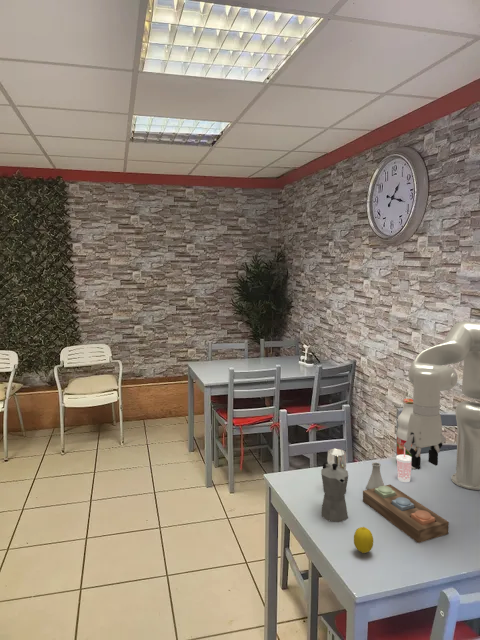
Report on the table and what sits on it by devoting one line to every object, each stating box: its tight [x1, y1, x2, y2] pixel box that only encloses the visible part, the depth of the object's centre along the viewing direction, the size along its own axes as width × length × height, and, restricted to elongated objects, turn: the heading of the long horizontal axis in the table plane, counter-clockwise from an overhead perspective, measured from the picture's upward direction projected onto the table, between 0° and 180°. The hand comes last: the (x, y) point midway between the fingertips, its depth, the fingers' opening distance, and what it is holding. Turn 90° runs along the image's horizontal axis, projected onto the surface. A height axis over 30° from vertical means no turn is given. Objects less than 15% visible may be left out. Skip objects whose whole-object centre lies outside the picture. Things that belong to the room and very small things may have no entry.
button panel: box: [362, 484, 450, 544], centre depth 152 cm, size 12×27×4 cm, turn 22°
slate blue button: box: [392, 497, 414, 511], centre depth 152 cm, size 5×5×3 cm
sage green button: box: [375, 486, 396, 498], centre depth 160 cm, size 5×5×3 cm
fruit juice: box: [396, 397, 422, 470], centre depth 190 cm, size 9×9×28 cm
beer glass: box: [326, 448, 347, 470], centre depth 170 cm, size 7×7×15 cm
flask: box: [365, 461, 385, 490], centre depth 170 cm, size 7×7×10 cm
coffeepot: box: [320, 461, 349, 523], centre depth 154 cm, size 15×9×18 cm, turn 13°
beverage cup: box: [396, 447, 412, 483], centre depth 178 cm, size 6×6×14 cm
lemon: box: [353, 526, 374, 554], centre depth 133 cm, size 6×6×8 cm
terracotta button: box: [411, 510, 435, 526], centre depth 143 cm, size 5×5×3 cm
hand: (424, 465), depth 141 cm, fingers open, 6 cm apart
